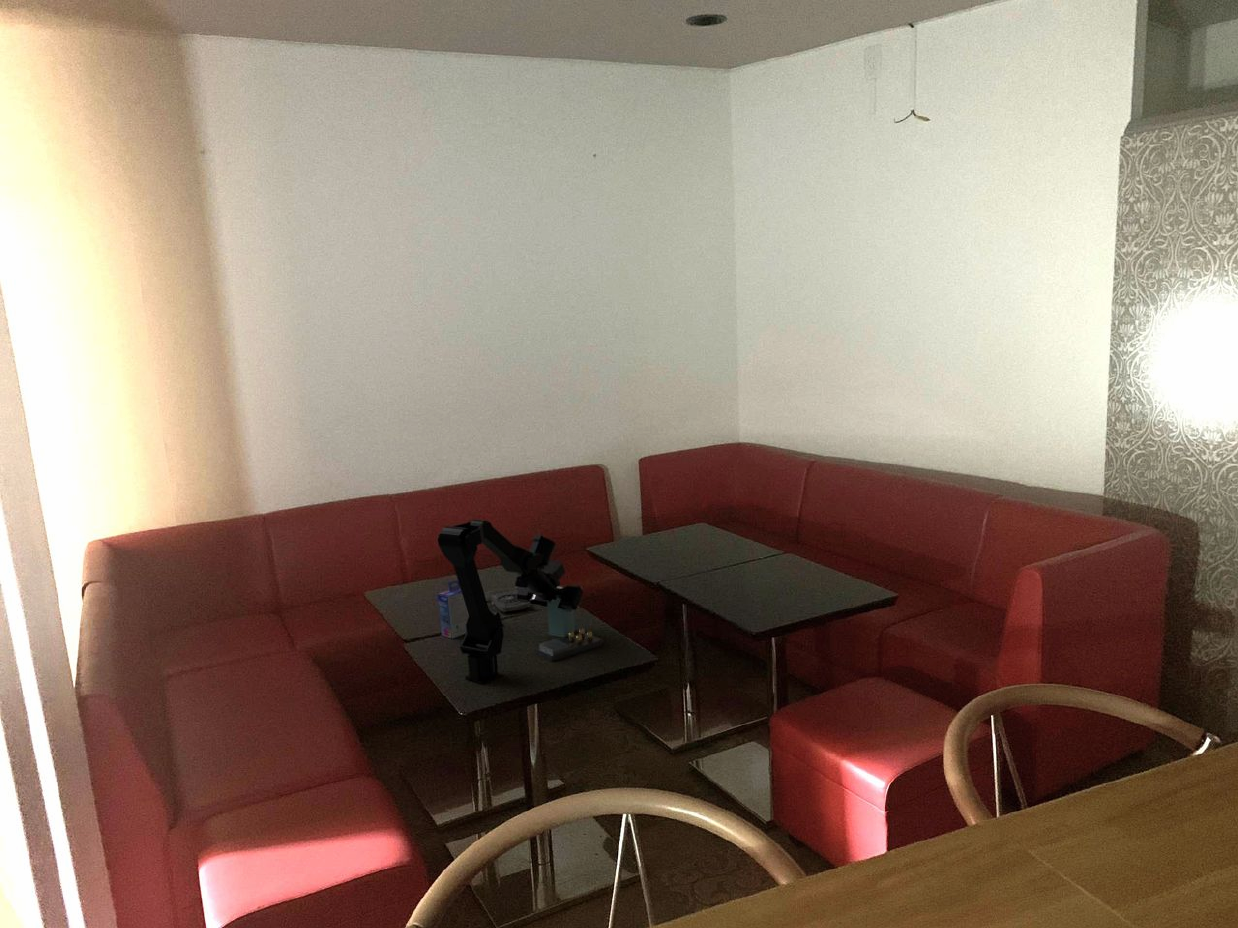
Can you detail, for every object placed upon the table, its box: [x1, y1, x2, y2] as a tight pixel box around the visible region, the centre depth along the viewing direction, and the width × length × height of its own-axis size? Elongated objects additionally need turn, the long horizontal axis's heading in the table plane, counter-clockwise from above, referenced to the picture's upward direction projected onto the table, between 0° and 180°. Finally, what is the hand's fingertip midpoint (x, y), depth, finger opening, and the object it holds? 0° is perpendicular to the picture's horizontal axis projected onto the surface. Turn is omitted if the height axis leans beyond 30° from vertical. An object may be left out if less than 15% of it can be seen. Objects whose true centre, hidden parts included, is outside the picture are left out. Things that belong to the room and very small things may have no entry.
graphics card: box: [484, 586, 531, 613], centre depth 284 cm, size 17×4×12 cm
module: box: [546, 585, 576, 638], centre depth 257 cm, size 5×5×12 cm
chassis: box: [533, 627, 603, 662], centre depth 246 cm, size 16×8×4 cm, turn 129°
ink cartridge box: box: [436, 579, 469, 639], centre depth 262 cm, size 10×6×14 cm, turn 137°
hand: (563, 608), depth 258 cm, fingers closed on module, 5 cm apart
